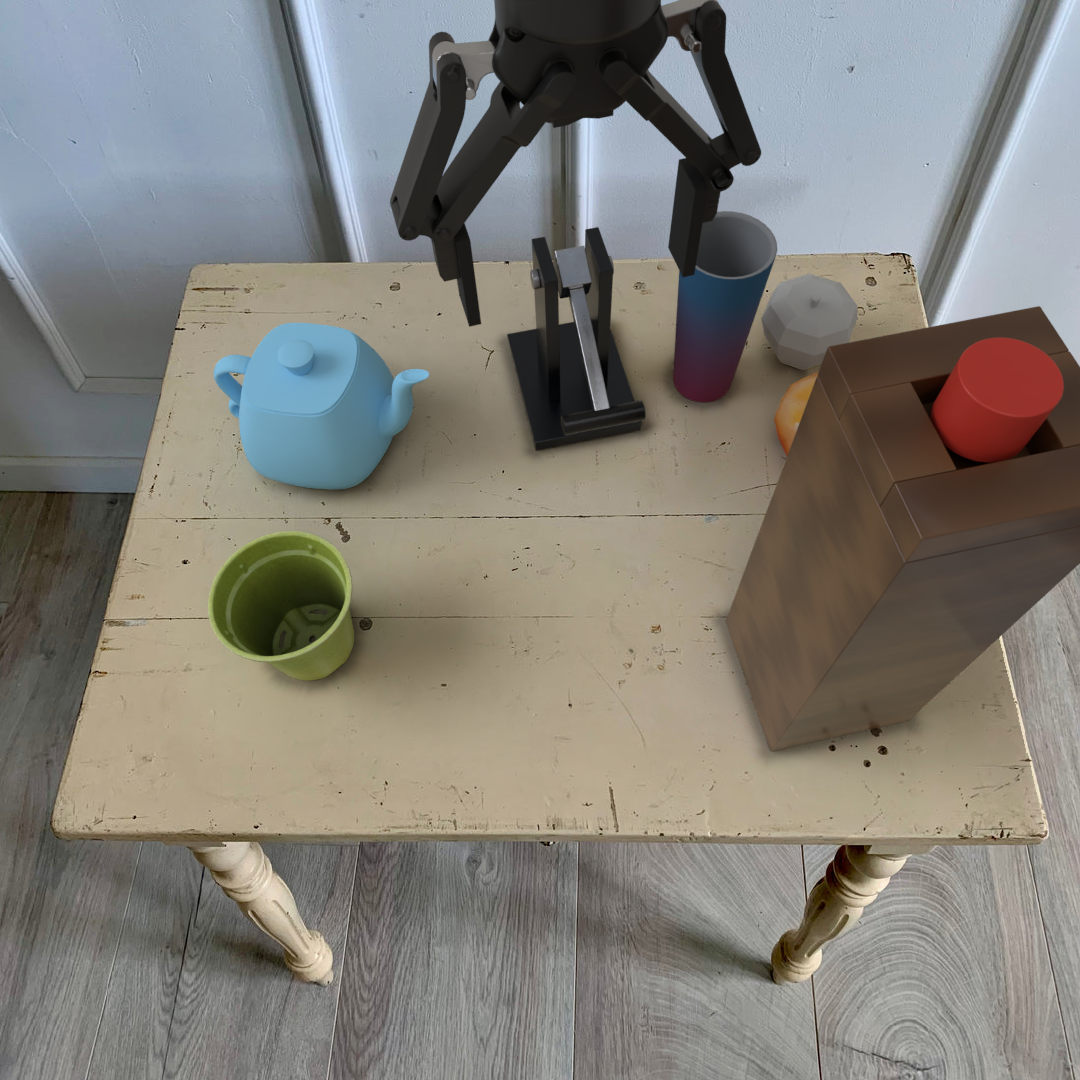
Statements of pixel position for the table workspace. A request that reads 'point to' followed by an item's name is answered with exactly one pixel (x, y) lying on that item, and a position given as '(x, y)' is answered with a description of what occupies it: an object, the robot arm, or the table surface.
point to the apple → (808, 319)
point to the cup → (720, 303)
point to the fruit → (792, 410)
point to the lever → (588, 348)
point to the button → (996, 399)
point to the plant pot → (285, 604)
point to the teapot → (316, 405)
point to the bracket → (567, 351)
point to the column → (899, 537)
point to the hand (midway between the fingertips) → (576, 285)
